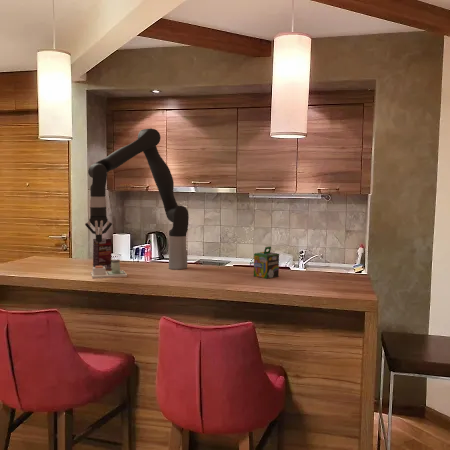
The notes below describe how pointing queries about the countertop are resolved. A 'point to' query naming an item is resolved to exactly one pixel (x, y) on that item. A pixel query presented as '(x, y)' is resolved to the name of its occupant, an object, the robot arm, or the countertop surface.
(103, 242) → the supplement box
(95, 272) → the button housing
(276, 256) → the chalk box
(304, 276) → the countertop surface
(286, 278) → the countertop surface
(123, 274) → the white flat panel
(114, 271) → the cylinder
